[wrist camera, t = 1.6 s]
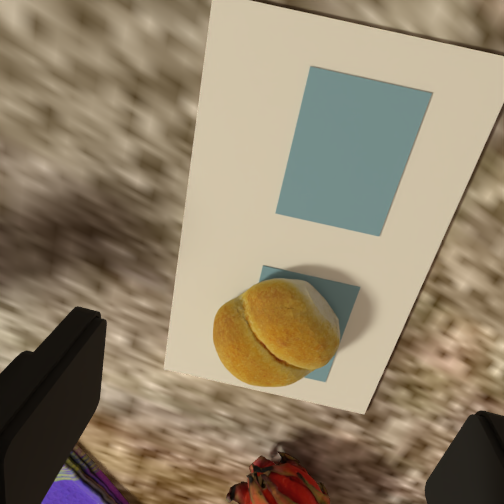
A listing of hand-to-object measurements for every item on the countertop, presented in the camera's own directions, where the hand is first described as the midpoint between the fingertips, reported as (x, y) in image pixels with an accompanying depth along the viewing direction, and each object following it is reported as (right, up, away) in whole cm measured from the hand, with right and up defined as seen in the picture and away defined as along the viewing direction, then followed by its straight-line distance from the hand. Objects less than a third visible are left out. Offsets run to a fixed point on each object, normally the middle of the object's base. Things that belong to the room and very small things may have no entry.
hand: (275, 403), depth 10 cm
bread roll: (+1, -1, +20) cm, 21 cm away
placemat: (+3, +4, +18) cm, 19 cm away
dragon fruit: (+2, -17, +28) cm, 33 cm away
